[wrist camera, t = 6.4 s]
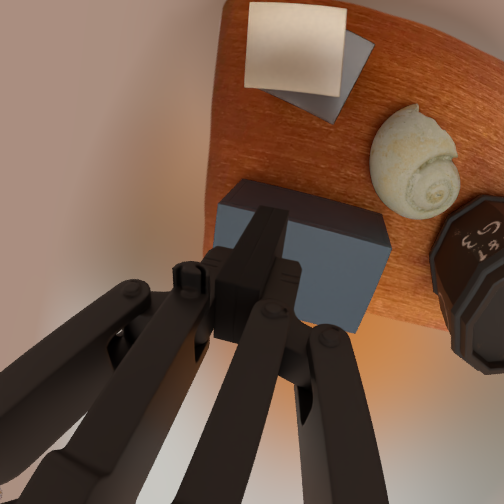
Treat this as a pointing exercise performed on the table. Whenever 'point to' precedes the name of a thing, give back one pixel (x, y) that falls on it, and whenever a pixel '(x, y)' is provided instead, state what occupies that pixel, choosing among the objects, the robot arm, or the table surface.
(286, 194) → the chest
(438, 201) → the seashell
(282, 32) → the block
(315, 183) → the table surface
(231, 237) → the lid
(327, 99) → the plinth
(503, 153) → the table surface
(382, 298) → the table surface
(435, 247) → the octagonal dark pot
